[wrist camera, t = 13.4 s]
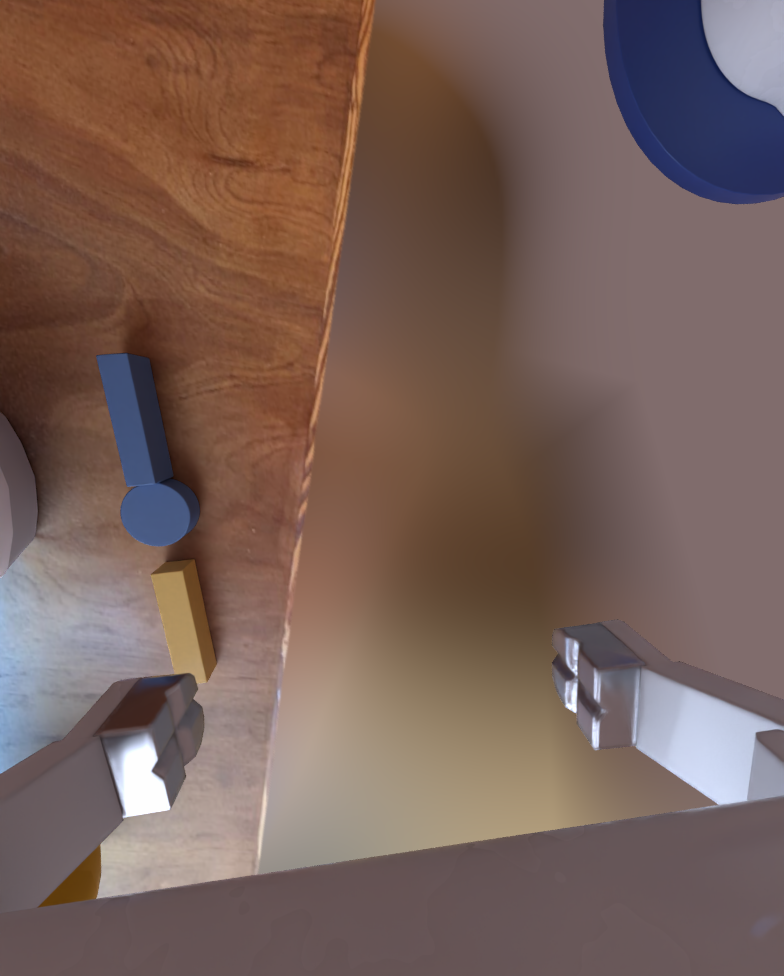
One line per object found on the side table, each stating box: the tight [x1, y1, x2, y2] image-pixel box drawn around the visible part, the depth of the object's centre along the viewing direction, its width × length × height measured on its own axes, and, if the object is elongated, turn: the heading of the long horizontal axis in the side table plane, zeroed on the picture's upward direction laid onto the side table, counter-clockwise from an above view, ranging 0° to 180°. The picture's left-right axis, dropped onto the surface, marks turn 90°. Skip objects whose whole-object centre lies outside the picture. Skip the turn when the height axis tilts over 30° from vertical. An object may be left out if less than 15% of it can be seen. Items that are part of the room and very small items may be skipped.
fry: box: [151, 559, 217, 684], centre depth 32 cm, size 10×2×2 cm, turn 5°
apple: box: [37, 845, 101, 908], centre depth 31 cm, size 10×10×12 cm
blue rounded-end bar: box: [96, 353, 200, 546], centre depth 29 cm, size 14×5×3 cm, turn 5°
